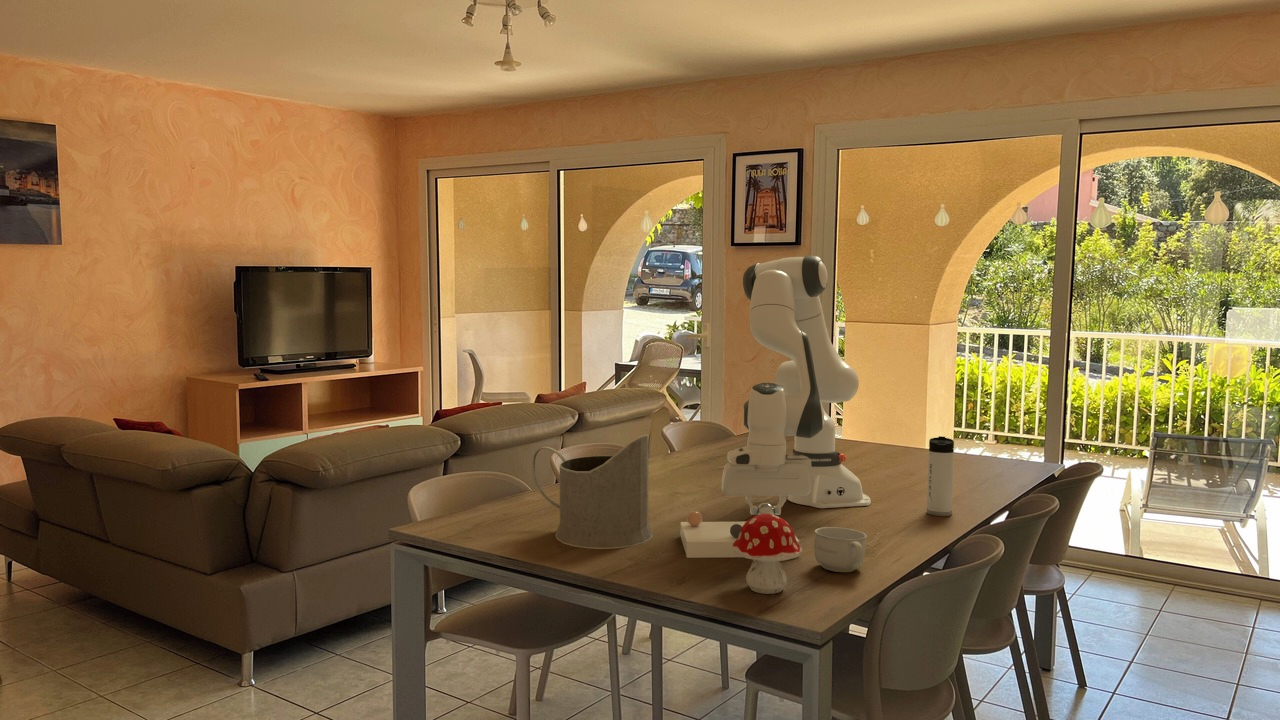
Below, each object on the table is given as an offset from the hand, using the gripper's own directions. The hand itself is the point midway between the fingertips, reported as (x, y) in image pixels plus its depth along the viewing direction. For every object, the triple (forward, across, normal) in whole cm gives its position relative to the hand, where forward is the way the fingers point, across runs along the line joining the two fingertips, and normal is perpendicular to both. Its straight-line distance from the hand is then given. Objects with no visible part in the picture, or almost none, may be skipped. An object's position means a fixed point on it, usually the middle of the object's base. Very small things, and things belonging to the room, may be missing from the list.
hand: (765, 514), depth 211 cm
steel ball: (-1, 0, 0) cm, 1 cm away
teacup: (+8, -13, +18) cm, 24 cm away
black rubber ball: (+2, +7, +5) cm, 9 cm away
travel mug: (+8, -51, -29) cm, 59 cm away
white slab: (+8, +6, 0) cm, 10 cm away
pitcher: (+8, +41, -12) cm, 43 cm away
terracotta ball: (+2, +16, -5) cm, 17 cm away
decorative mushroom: (+8, +5, +30) cm, 31 cm away
